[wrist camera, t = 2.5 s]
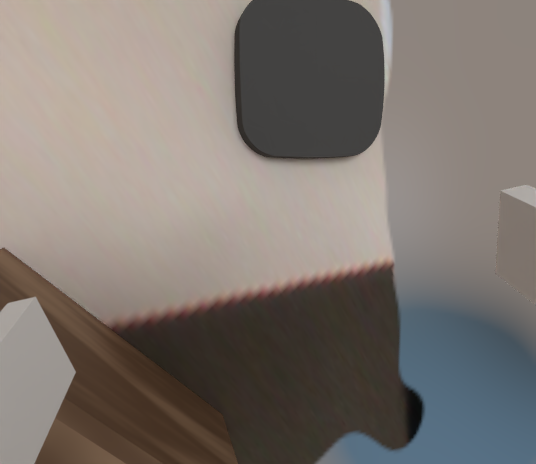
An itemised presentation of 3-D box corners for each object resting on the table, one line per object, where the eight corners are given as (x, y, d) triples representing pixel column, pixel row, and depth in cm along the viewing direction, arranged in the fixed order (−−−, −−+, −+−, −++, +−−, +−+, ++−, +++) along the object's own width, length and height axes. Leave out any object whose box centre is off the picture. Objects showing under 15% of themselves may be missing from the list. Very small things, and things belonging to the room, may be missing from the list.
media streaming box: (231, -2, 36) (238, -18, 33) (370, 14, 40) (387, 1, 38) (236, 158, 38) (243, 157, 35) (368, 158, 42) (384, 156, 40)
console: (153, 491, 40) (156, 648, 26) (-89, 337, 32) (-258, 448, 19) (222, 414, 41) (257, 527, 27) (3, 247, 33) (-94, 292, 20)
